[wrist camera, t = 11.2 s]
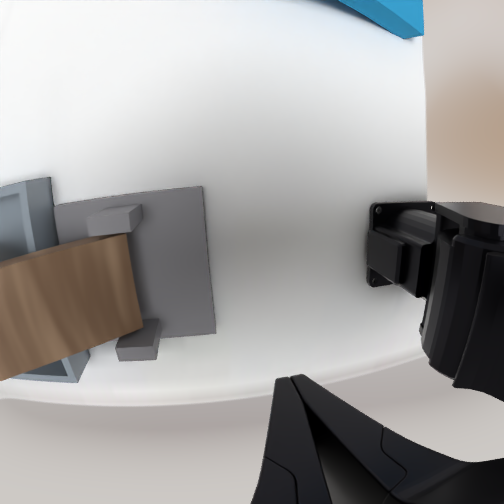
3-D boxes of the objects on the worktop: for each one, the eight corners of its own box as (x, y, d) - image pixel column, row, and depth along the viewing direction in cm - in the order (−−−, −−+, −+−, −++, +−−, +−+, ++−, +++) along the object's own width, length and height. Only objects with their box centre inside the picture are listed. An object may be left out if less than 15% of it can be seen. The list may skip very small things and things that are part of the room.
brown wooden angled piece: (125, 226, 16) (-55, 277, 9) (145, 332, 18) (-9, 390, 11) (90, 217, 22) (-37, 251, 14) (105, 298, 24) (-11, 337, 16)
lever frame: (201, 185, 19) (201, 192, 15) (215, 326, 22) (219, 362, 18) (59, 204, 18) (27, 216, 14) (88, 335, 21) (70, 369, 17)
